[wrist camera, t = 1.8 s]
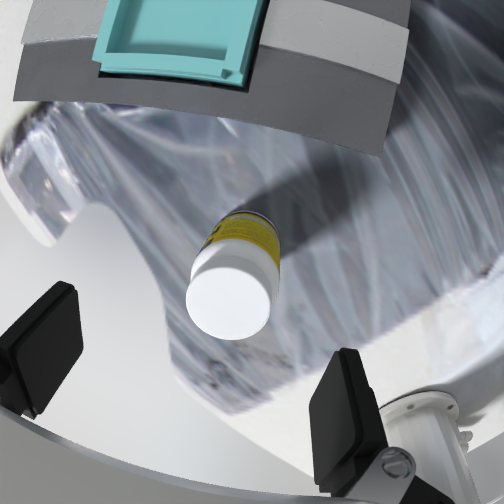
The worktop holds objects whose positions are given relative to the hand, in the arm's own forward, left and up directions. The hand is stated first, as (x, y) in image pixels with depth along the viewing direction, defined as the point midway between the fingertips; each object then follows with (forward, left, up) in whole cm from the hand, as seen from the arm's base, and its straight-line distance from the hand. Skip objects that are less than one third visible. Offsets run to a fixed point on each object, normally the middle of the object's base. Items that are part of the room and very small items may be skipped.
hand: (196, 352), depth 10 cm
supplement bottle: (-1, 0, -13) cm, 13 cm away
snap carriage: (+5, -14, -10) cm, 18 cm away
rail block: (+5, -14, -13) cm, 19 cm away
